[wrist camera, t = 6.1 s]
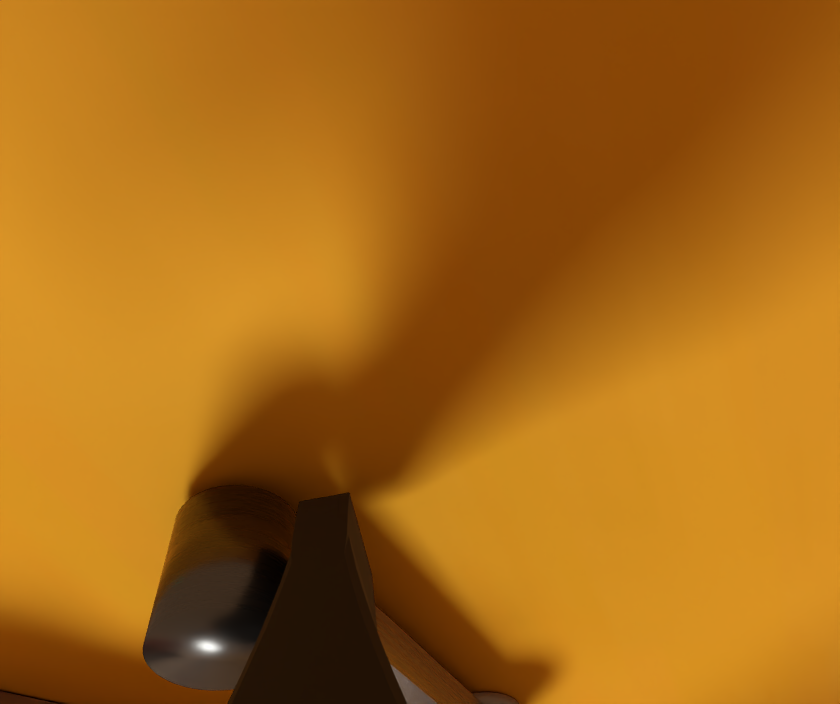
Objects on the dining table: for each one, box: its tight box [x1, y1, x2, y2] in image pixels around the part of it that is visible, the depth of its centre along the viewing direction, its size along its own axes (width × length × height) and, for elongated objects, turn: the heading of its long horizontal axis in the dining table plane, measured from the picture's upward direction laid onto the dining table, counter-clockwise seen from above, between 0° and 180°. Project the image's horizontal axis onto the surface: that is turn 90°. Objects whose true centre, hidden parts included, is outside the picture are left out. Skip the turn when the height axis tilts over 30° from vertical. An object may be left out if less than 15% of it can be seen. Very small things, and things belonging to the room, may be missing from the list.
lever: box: [143, 485, 483, 704], centre depth 12 cm, size 2×11×2 cm, turn 29°
